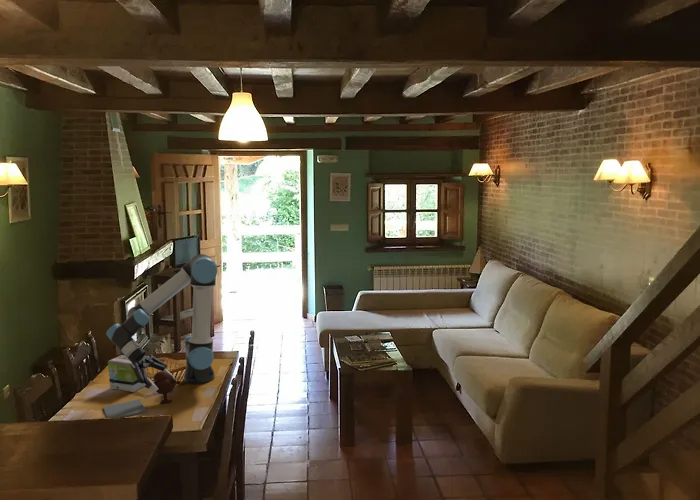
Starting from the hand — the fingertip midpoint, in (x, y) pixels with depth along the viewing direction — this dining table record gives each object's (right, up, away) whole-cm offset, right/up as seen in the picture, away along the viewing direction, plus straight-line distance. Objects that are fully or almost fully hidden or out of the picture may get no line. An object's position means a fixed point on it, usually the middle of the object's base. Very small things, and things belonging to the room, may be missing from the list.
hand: (165, 385), depth 284 cm
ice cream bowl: (0, -8, +2) cm, 9 cm away
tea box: (-25, -6, +23) cm, 35 cm away
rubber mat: (-16, -10, -6) cm, 20 cm away
